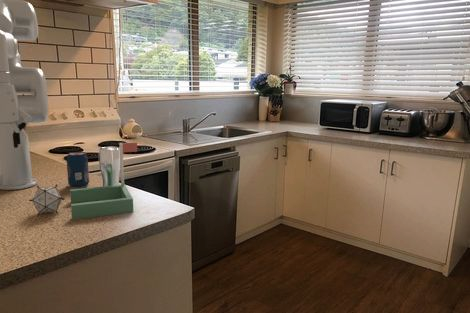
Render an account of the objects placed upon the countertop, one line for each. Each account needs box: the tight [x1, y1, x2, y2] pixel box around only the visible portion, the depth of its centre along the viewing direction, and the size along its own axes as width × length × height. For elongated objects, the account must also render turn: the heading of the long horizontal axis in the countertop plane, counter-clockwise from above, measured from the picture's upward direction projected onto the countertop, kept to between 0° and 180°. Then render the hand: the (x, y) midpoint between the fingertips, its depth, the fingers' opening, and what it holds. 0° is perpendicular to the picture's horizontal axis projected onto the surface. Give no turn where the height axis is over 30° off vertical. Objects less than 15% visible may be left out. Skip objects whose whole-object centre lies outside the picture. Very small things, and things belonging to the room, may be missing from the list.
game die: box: [28, 184, 65, 216], centre depth 104 cm, size 9×8×10 cm
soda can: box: [66, 151, 90, 189], centre depth 130 cm, size 7×7×12 cm
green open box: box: [69, 141, 138, 220], centre depth 110 cm, size 21×16×18 cm
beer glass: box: [98, 146, 121, 187], centre depth 125 cm, size 7×7×15 cm
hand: (0, 147), depth 97 cm, fingers open, 6 cm apart
